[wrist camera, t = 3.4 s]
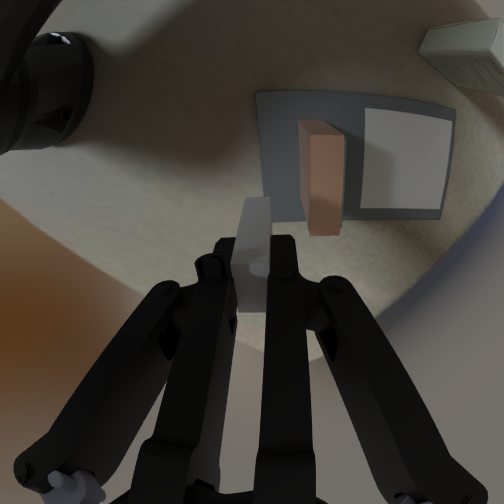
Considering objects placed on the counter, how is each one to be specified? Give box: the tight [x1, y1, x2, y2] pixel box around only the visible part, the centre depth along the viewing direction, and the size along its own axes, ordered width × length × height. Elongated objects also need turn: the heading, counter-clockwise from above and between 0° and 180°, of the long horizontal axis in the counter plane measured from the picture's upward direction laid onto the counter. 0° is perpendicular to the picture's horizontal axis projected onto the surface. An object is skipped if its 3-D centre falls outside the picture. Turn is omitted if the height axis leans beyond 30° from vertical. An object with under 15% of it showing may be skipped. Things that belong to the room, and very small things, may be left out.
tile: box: [298, 120, 346, 236], centre depth 22 cm, size 3×8×8 cm, turn 5°
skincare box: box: [418, 18, 504, 97], centre depth 12 cm, size 6×4×12 cm
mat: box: [255, 90, 456, 222], centre depth 25 cm, size 22×14×1 cm, turn 95°
